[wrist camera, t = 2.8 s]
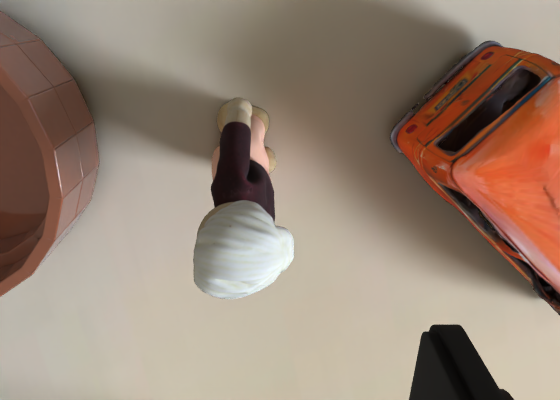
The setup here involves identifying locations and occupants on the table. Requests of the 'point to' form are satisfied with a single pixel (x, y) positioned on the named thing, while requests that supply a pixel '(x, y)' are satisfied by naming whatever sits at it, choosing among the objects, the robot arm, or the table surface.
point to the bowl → (39, 153)
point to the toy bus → (497, 154)
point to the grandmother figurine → (241, 211)
